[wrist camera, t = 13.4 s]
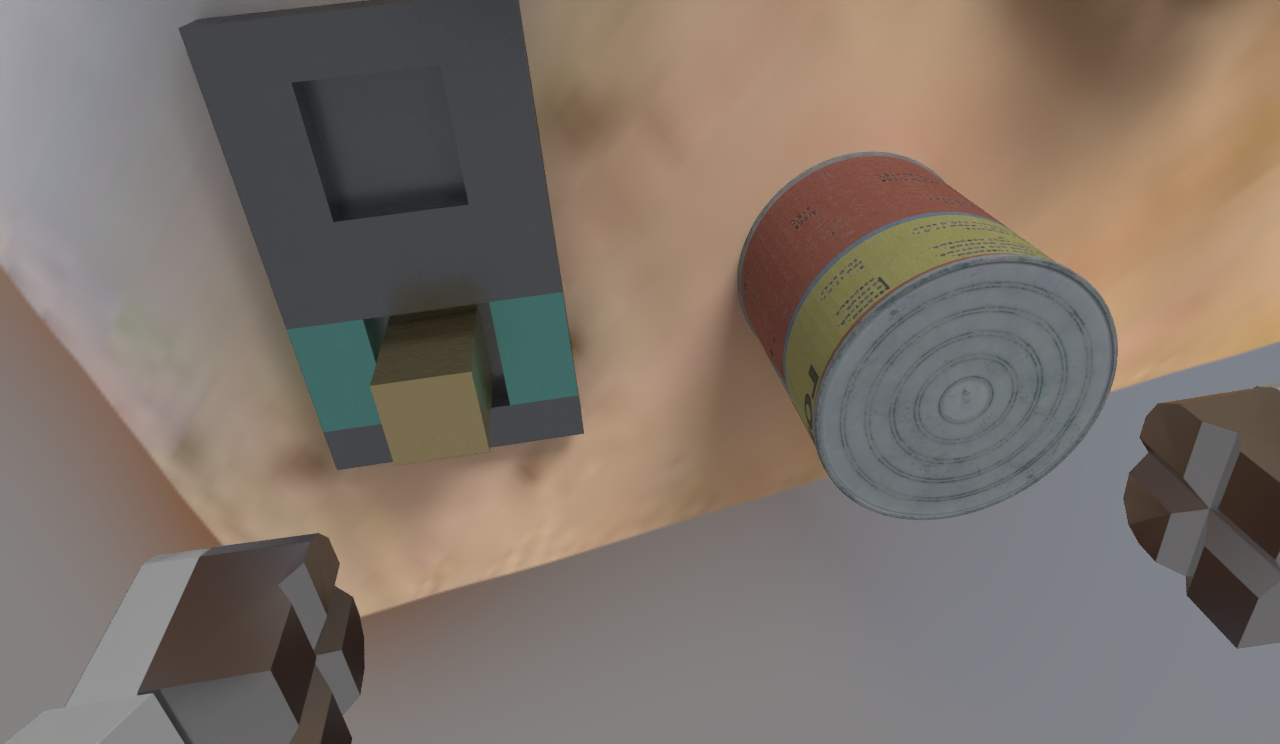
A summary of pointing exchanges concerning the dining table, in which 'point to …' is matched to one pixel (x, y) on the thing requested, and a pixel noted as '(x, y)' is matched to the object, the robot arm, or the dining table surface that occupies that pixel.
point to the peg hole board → (395, 196)
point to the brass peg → (434, 385)
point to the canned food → (922, 337)
